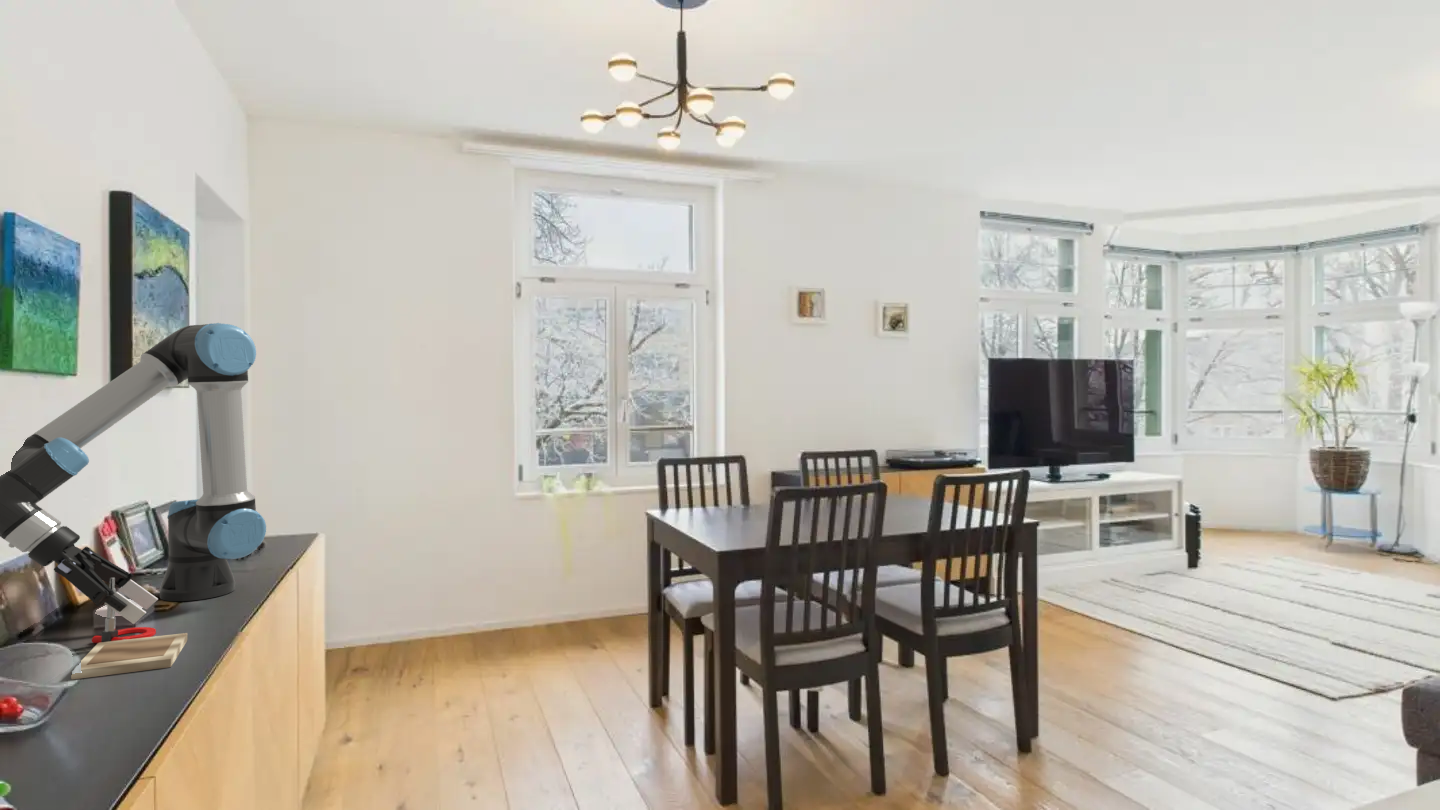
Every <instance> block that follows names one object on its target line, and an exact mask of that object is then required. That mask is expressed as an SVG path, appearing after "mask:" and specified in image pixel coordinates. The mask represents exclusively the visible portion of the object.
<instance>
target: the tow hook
mask: <svg viewBox="0 0 1440 810" xmlns="http://www.w3.org/2000/svg"><path fill="white" fill-rule="evenodd" d="M109 587H110V588H111V589H112V590H113V591H114V594H115V593H116V592H117V587H116V586H115V578H110V583H109ZM114 594H113V595H114ZM106 607H107V609H106V617H105V619H104V630H102V631H101V635H94V636H93V637H92V638H91V642H92V644H98V643H100V642H109V641H118V640H127V639H136V638H145V637H154V636H156V633H157V632H156V631H157V630H156V628H154V627H148V626H145V627H144V626H140V627H126V628H121V629H116V625H117V617H116V614H115V613H116V612H115V611H114V610H113V609H111V608H110V607H108V606H107V605H106ZM138 633H140V634H138ZM126 634H134V635H127V636H125V635H126ZM121 635H124V636H121ZM120 636H121V637H120Z"/></svg>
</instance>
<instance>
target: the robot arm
mask: <svg viewBox="0 0 1440 810" xmlns="http://www.w3.org/2000/svg"><path fill="white" fill-rule="evenodd" d="M256 357H257V349H256V345H255V341H254V340H253V339H252V337H251V336H250V335H249V333H247V332H246V331H245V330H244V329H242V328H241V327H239V326H237V325H233V324H229V323H221V322H216V323H206V324H205V323H204V324H195V325H194V324H193V325H187V326H184V327H181V328H178V329H177V330H176V331H174V332H172V333H171V334H169V335H168V336H166V337H165V338H164V339H162V340H161V341H159V342H158V343H156V344H155V345H153V346H151V348H149V349H148V350H146V351H145V352H143V353H142V354H140V361H139V362H137V363H136V364H135V365H133V366H132V367H131V366H130V367H129V369H127V370H125V371H124V372H123V373H121V374H120V375H118V376H117V377H115V378H114V379H112V380H111V381H110V382H108V383H106V384H105V385H103V386H102V387H101V388H99V389H97V390H96V391H94V392H93V393H92V394H90V395H89V396H87V397H86V398H84V399H83V400H81V401H80V402H78V403H77V404H75V405H74V406H73V407H71V408H69V409H67V411H65V412H63V413H62V414H60V415H59V416H58V417H56V418H55V419H53V420H52V421H51V422H48V423H47V424H46V425H44V426H43V427H41V428H40V429H39V430H37V431H36V432H34V433H32V434H31V435H29V436H28V437H26V438H27V439H26V438H25V439H26V440H25V439H24V440H25V442H24V444H23V446H22V447H21V448H20V449H19V450H18V451H16V453H15V455H14V456H13V458H12V462H11V470H10V471H8V472H6V473H5V474H3V475H1V476H0V538H1V539H3V540H4V541H6V542H7V543H9V544H8V547H9V548H13V549H14V548H16V549H18V550H19V551H20V552H22V553H27V552H28V554H27V555H28V557H29V559H31V560H33V561H34V562H36V563H37V564H38V565H40V566H41V567H47V566H50V564H52V563H53V562H55V563H56V564H57V566H56V567H54V568H53V571H54V572H56V573H58V574H59V575H60V576H61V577H64V578H65V579H66V580H67V581H68V582H69V583H70V584H72V585H73V586H74V587H75V588H77V589H78V590H79V591H80V593H82V594H83V595H84V596H86V597H87V598H88V599H89V600H91V601H92V602H93V603H94V605H95V606H97V607H101V606H103V604H104V605H106V607H107V606H108V607H110V608H111V609H113V610H114V611H115V613H116V614H118V615H120V616H121V617H122V618H124V619H125V620H127V621H128V622H130V623H131V624H133V625H135V624H136V623H137V622H138V621H140V619H141V618H142V617H143V616H144V615H145V614H147V611H146V610H148V609H149V608H150V607H151V606H152V605H154V604H155V603H156V602H157V601H158V600H159V599H160V600H162V601H167V602H168V601H169V602H190V601H191V602H192V601H197V600H198V601H200V600H206V599H211V598H217V597H221V596H225V595H227V594H230V593H232V592H233V591H235V590H236V580H235V577H234V574H233V571H232V569H231V567H230V564H229V561H228V560H233V559H234V560H236V559H241V558H244V557H247V556H248V555H250V554H252V553H253V552H255V551H256V550H257V548H259V546H261V544H262V543H263V541H264V539H265V537H266V534H267V522H266V521H265V518H264V517H263V515H262V514H261V513H260V512H258V511H257V510H256V508H257V507H256V496H255V495H254V494H253V493H252V492H250V491H249V490H248V487H247V486H248V485H247V470H246V469H247V468H246V453H245V452H246V451H245V435H244V433H245V432H244V420H243V419H244V418H243V399H242V388H244V387H245V385H247V384H248V383H249V373H248V372H249V370H250V369H251V367H252V366H253V364H254V363H255V361H256ZM186 380H187V384H188V385H190V387H192V388H193V389H194V390H195V391H196V401H197V403H196V404H197V416H198V417H197V418H198V431H199V433H198V434H199V435H198V436H199V448H200V463H201V477H202V478H201V479H202V496H200V498H198V499H197V498H196V499H187V500H180V501H179V500H177V501H173V502H172V503H171V504H169V506H168V511H167V518H166V519H167V525H168V526H167V533H168V535H167V537H168V538H167V539H168V540H167V542H168V545H167V546H168V565H167V568H166V571H165V573H164V576H163V578H162V582H161V584H160V586H159V598H158V597H156V596H155V595H153V594H152V593H151V592H149V591H148V590H147V589H146V588H144V587H143V586H141V585H139V584H138V583H137V582H135V581H134V580H132V579H133V578H134V576H135V575H134V574H133V573H132V572H128V571H127V570H125V569H123V568H121V567H120V566H118V565H116V564H114V563H113V562H111V561H109V560H108V559H106V558H105V557H104V556H101V555H100V554H98V553H96V552H95V551H94V550H93V549H92V548H90V547H89V546H85V547H83V548H82V549H81V548H79V547H77V546H76V545H75V544H76V543H78V541H79V540H80V538H81V537H80V535H79V534H78V533H77V532H75V531H74V530H72V529H71V528H69V527H68V526H67V525H62V526H61V524H62V522H61V521H60V520H59V519H57V518H56V517H54V516H53V515H52V514H50V513H49V512H48V511H46V510H45V509H43V508H42V507H40V506H39V505H38V504H37V503H39V502H40V501H42V500H43V499H44V498H46V497H48V496H49V495H50V494H51V493H53V492H54V491H55V490H57V489H59V487H61V486H62V485H64V484H65V483H66V482H68V481H69V480H70V479H72V478H73V477H75V476H77V475H78V474H79V473H80V472H81V471H82V470H83V469H84V468H85V467H86V466H87V465H89V462H90V459H89V456H88V455H87V454H86V452H85V451H83V449H82V448H83V447H85V446H86V445H88V444H89V443H90V442H91V441H93V440H94V439H96V438H97V437H98V436H100V435H102V434H103V433H104V432H106V431H107V430H109V429H110V428H112V427H113V426H114V425H116V424H117V423H119V422H120V421H121V420H123V418H125V417H127V416H128V415H129V414H131V413H132V412H133V411H135V410H137V409H138V408H140V407H141V406H142V405H143V404H145V403H147V401H149V400H150V399H152V398H153V397H155V396H156V395H158V394H159V393H160V392H162V391H163V390H164V389H166V388H167V387H170V388H171V387H173V388H174V387H177V386H178V385H180V384H181V383H182V382H184V381H186ZM110 578H115V588H118V591H116V593H115V594H114V591H113V590H112V589H111V588H110V585H108V584H110ZM107 583H108V584H107ZM121 593H122V594H121ZM113 594H114V595H113ZM128 598H129V599H128Z"/></svg>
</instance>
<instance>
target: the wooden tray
mask: <svg viewBox="0 0 1440 810" xmlns="http://www.w3.org/2000/svg"><path fill="white" fill-rule="evenodd" d="M186 643H188V632H185V633H184V632H183V633H175V634H166V635H153V636H151V637H145V638H136V639H127V640H118V641H109V642H100V643H96V645H95V646H93V648H92V649H91V650H90V651H89V652H88V653H87V654H86V655H85V656H84V657H83V658H82V659H81V660H80V661H81V671H82V673H75V674H72V675H71V674H70V676H71V679H70V680H79V679H87V678H95V677H102V676H111V675H119V674H126V673H134V672H142V671H151V670H159V669H167V668H171V667H173V664H174V663H175V662H176V660H177V659H178V657H179V655H180V653H181V651H182V650H183V648H184V647H185V645H186Z"/></svg>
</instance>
